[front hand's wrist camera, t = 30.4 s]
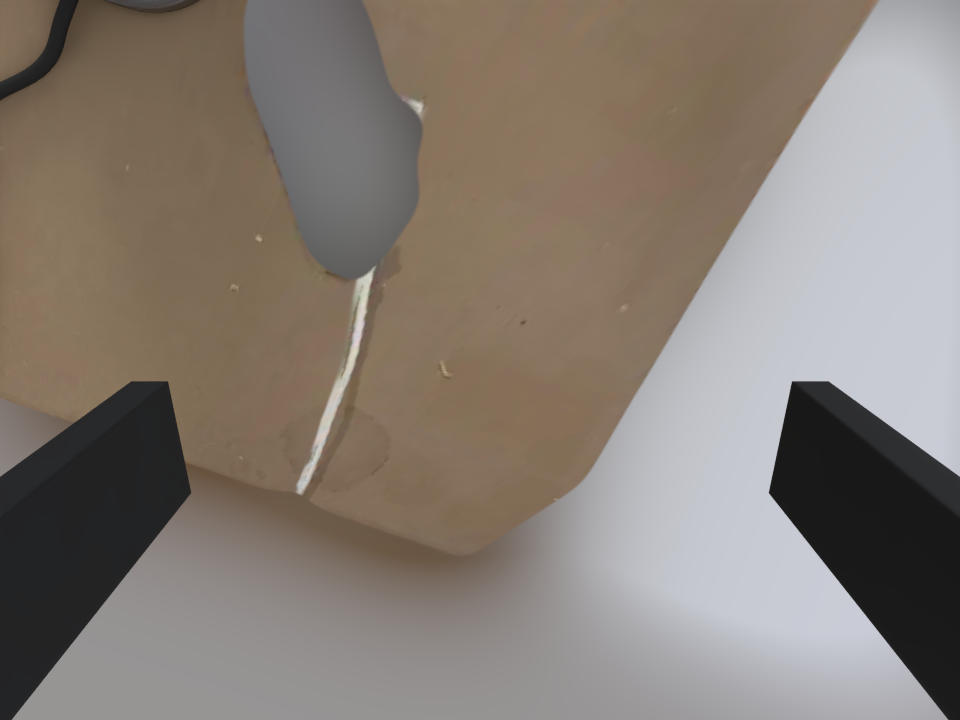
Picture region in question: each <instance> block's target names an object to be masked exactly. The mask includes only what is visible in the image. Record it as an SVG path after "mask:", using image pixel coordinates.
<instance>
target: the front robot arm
mask: <svg viewBox="0 0 960 720" xmlns="http://www.w3.org/2000/svg"><path fill="white" fill-rule="evenodd" d="M105 1H108V2H110V3H113V4H116V5H119V6H122V7H125V8H128V9H132V10H136V11H141V12H150V13H162V12H170V11H175V10H179V9H182V8H184V7H187V6H189V5H191V4H193V3H195V2H197V1H199V0H105ZM77 3H78V0H60V2H59V5H58V7H57V10H56V13H55V16H54V19H53V23H52V27H51V31H50V35H49V39H48V43H47V45H46V47H45V49H44V51H43V53H42V54H41V55H40V57H39V58H38V59H37V60H36V61H35V62H34V63H33V64H32V65H31V66H29V67H28V68H27V69H25V70H23V71H22V72H20V73H18V74H16V75H14V76H12V77H10V78H8V79H6V80H4V81H2V82H0V100H2V99H3V98H5V97H7V96H9V95H11V94H13V93H15V92H17V91H19V90H21V89H23V88H25V87H27V86H29V85H31V84H33V83H35V82H36V81H38V80H39V79H41V78H42V77H43V76H45V75H46V74H47V73H48V72H49V71H50V70H51V69H52V67H53V66H54V65H55V64H56V62H57V61H58V59H59V57H60V55H61V53H62V50H63V47H64V43H65V39H66V35H67V31H68V28H69V25H70V22H71V19H72V16H73V14H74V11H75V8H76V6H77ZM190 494H191V490H190V485H189V480H188V475H187V471H186V466H185V461H184V456H183V451H182V447H181V442H180V437H179V432H178V428H177V423H176V418H175V413H174V408H173V404H172V399H171V394H170V389H169V385H168V381H131V382H130V383H129V384H127V385H126V386H125V387H123V388H122V389H120V390H119V391H118V392H116V393H115V394H114V395H112V396H111V397H109V398H108V399H107V400H105V401H104V402H103V403H101V404H100V405H98V406H97V407H96V408H94V409H93V410H92V411H90V412H89V413H87V414H86V415H85V416H83V417H82V418H81V419H79V420H78V421H76V422H75V423H74V424H72V425H71V426H70V427H68V428H67V429H65V430H64V431H63V432H61V433H60V434H59V435H57V436H56V437H54V438H53V439H52V440H50V441H49V442H48V443H46V444H45V445H43V446H42V447H41V448H39V449H38V450H37V451H35V452H34V453H32V454H31V455H30V456H28V457H27V458H26V459H24V460H23V461H21V462H20V463H19V464H17V465H16V466H15V467H13V468H12V469H10V470H9V471H8V472H6V473H5V474H4V475H2V476H1V477H0V720H12V719H13V717H14V716H15V715H16V714H17V712H18V711H19V710H20V708H21V707H22V706H23V705H24V703H25V702H26V701H27V700H28V698H29V697H30V696H31V694H32V693H33V692H34V691H35V690H36V688H37V687H38V686H39V684H40V683H41V682H42V681H43V679H44V678H45V677H46V676H47V674H48V673H49V672H50V670H51V669H52V668H53V667H54V665H55V664H56V663H57V662H58V660H59V659H60V658H61V657H62V655H63V654H64V653H65V652H66V650H67V649H68V648H69V647H70V645H71V644H72V643H73V641H74V640H75V639H76V638H77V636H78V635H79V634H80V633H81V631H82V630H83V629H84V628H85V626H86V625H87V624H88V623H89V621H90V620H91V619H92V617H93V616H94V615H95V614H96V612H97V611H98V610H99V609H100V607H101V606H102V605H103V604H104V602H105V601H106V600H107V598H108V597H109V596H110V595H111V593H112V592H113V591H114V590H115V588H116V587H117V586H118V585H119V583H120V582H121V581H122V580H123V578H124V577H125V576H126V575H127V573H128V572H129V571H130V569H131V568H132V567H133V566H134V564H135V563H136V562H137V561H138V559H139V558H140V557H141V556H142V554H143V553H144V552H145V550H146V549H147V548H148V547H149V545H150V544H151V543H152V542H153V540H154V539H155V538H156V537H157V535H158V534H159V533H160V532H161V530H162V529H163V528H164V527H165V525H166V524H167V523H168V521H169V520H170V519H171V518H172V516H173V515H174V514H175V513H176V511H177V510H178V509H179V508H180V506H181V505H182V504H183V502H184V501H185V500H186V499H187V497H188V496H189V495H190ZM769 494H770V495H771V496H772V497H773V499H774V500H775V501H776V503H777V504H778V505H779V506H780V508H781V509H782V510H783V511H784V513H785V514H786V515H787V516H788V518H789V519H790V520H791V521H792V523H793V524H794V525H795V526H796V528H797V529H798V530H799V532H800V533H801V534H802V535H803V537H804V538H805V539H806V540H807V542H808V543H809V544H810V545H811V547H812V548H813V549H814V551H815V552H816V553H817V554H818V556H819V557H820V558H821V559H822V561H823V562H824V563H825V564H826V566H827V567H828V568H829V569H830V571H831V572H832V573H833V575H834V576H835V577H836V578H837V580H838V581H839V582H840V583H841V585H842V586H843V587H844V588H845V590H846V591H847V592H848V593H849V595H850V596H851V597H852V598H853V600H854V601H855V602H856V604H857V605H858V606H859V607H860V609H861V610H862V611H863V612H864V614H865V615H866V616H867V617H868V619H869V620H870V621H871V623H872V624H873V625H874V626H875V627H876V629H877V630H878V631H879V633H880V634H881V635H882V636H883V638H884V639H885V640H886V641H887V643H888V644H889V645H890V647H891V648H892V649H893V650H894V652H895V653H896V654H897V655H898V657H899V658H900V659H901V660H902V662H903V663H904V664H905V666H906V667H907V668H908V669H909V670H910V672H911V673H912V674H913V676H914V677H915V678H916V679H917V681H918V682H919V683H920V684H921V686H922V687H923V688H924V689H925V691H926V692H927V693H928V695H929V696H930V697H931V698H932V700H933V701H934V702H935V703H936V705H937V706H938V707H939V708H940V710H941V711H942V712H943V713H944V715H945V716H946V717H947V719H948V720H960V477H959V476H958V475H956V474H955V473H954V472H952V471H951V470H950V469H948V468H947V467H945V466H944V465H943V464H941V463H940V462H939V461H937V460H936V459H934V458H933V457H932V456H930V455H929V454H928V453H926V452H925V451H923V450H922V449H921V448H919V447H918V446H917V445H915V444H914V443H912V442H911V441H910V440H908V439H907V438H906V437H904V436H903V435H901V434H900V433H899V432H897V431H896V430H895V429H893V428H892V427H890V426H889V425H888V424H886V423H885V422H884V421H882V420H881V419H879V418H878V417H877V416H875V415H874V414H873V413H871V412H870V411H868V410H867V409H866V408H864V407H863V406H862V405H860V404H859V403H857V402H856V401H855V400H853V399H852V398H851V397H849V396H848V395H846V394H845V393H844V392H842V391H841V390H840V389H838V388H837V387H835V386H834V385H833V384H831V383H830V382H828V381H821V382H820V381H819V382H818V381H817V382H816V381H808V382H807V381H805V382H804V381H801V382H800V381H793V382H792V385H791V389H790V394H789V399H788V404H787V408H786V413H785V418H784V423H783V428H782V432H781V437H780V442H779V447H778V451H777V456H776V461H775V466H774V471H773V476H772V480H771V485H770V490H769Z"/></svg>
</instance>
